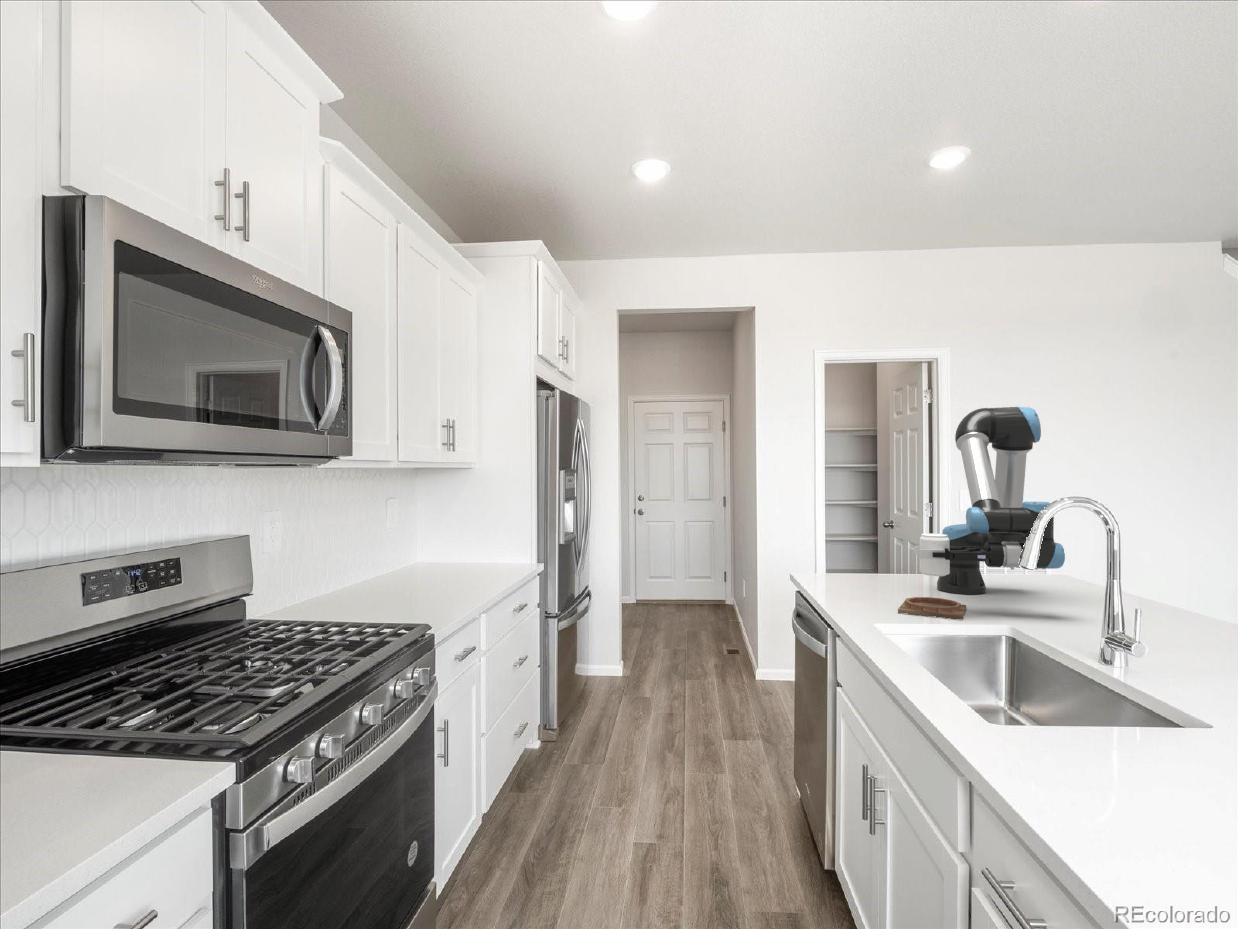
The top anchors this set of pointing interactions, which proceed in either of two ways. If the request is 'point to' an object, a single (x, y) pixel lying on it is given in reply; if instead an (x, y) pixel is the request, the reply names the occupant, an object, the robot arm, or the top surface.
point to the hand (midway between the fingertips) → (917, 552)
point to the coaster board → (933, 607)
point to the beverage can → (935, 565)
